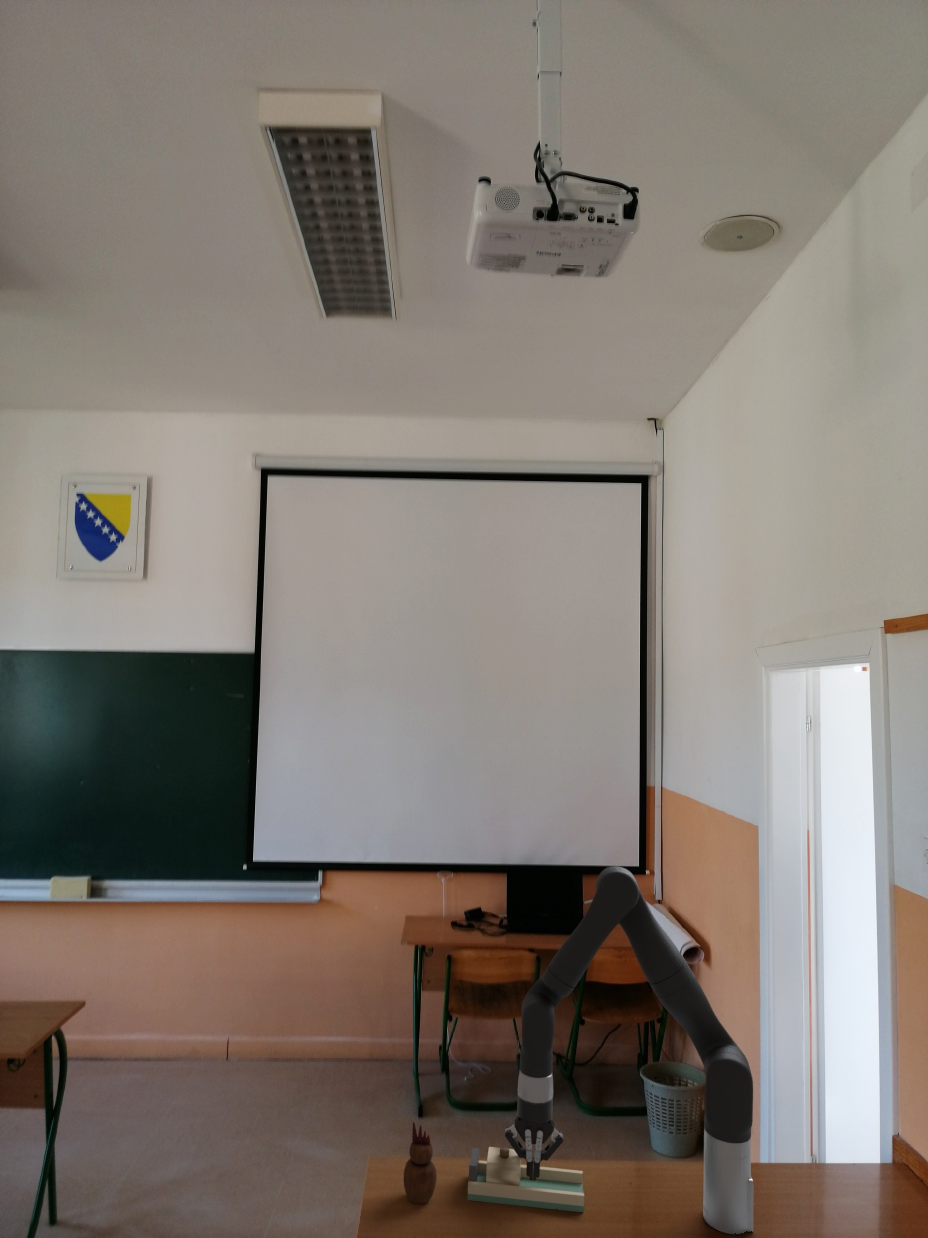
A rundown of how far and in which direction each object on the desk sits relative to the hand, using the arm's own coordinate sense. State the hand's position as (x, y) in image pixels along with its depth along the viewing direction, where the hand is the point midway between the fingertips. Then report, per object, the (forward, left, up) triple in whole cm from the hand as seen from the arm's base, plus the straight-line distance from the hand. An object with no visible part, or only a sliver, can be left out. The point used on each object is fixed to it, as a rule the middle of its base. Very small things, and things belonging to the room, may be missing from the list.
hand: (532, 1178), depth 174 cm
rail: (+1, 0, -3) cm, 3 cm away
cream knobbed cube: (+6, 0, -2) cm, 6 cm away
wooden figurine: (+23, +6, -3) cm, 24 cm away
